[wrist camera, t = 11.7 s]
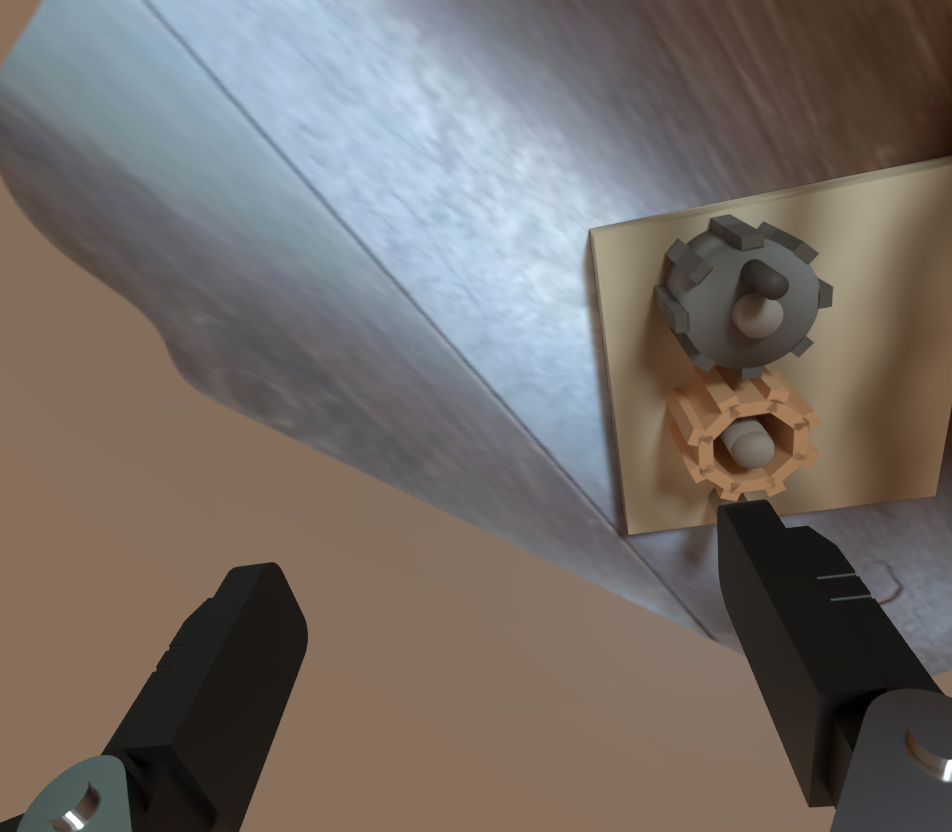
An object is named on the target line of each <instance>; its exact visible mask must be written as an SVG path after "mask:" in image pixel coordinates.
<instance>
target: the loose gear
mask: <svg viewBox="0 0 952 832" xmlns="http://www.w3.org/2000/svg"><path fill="white" fill-rule="evenodd" d="M693 368H694V370H695V372H696V374H697V375H696V376H695V377H694V379H693V380H692V381H691V382H690V383H689V384H688V385H687V386H686V387H685V388H684V389H683V390H682V391H681V390H676V389H672V391H671V393H670V396H669V398H668V401H667V404H668V406H669V408H670V410H671V412H672V414H673V416H674V418H675V420H676V422H677V423H676V424H674V425H672V426H670V427H669V430H670V432H671V434H672V436H673V438H674V440H675V442H676V445H677V447H678V449H679V451H680V453H681V455H682V458H683V460H684V462H685V464H686V466H687V468H688V470H689V472H690V474H691V475H692V477H693V479H694V480H695V482H696V483H698V482H701V481H703V480H705V479H709V480H710V481H711V482H712V484H713V486H714V488H715V489H716V491H717V493H718V495H719V497H720V498H721V499H727V500H732V501H737V500H738V498H739V496H740V494H741V492H749V491H757V490H765V491H766V493H767V494H768V496H769V497H771V496H773V495H775V494H777V493H780V492H782V491H784V490H786V488H785V486H784V484H783V482H782V481H783V480H785V479H786V478H787V477H788V476H789V475H790V474H791V473H792V472H794V471H795V470H796V469H797V468H798V467H799V466H805V467H810V468H811V467H812V465H813V464H814V462H815V460H816V458H817V456H818V454H819V452H818V451H817V449H816V448H815V447H814V446H813V445H812V444H811V442H810V441H809V430H811V429H813V428H815V427H817V426H819V425H821V423H820V421H819V419H818V417H817V415H816V413H815V411H814V410H813V409H812V408H811V406H810V405H809V404H808V403H807V402H806V401H805V400H804V399H803V398H802V397H801V396H800V395H799V394H798V393H797V392H796V391H795V390H794V389H793V388H792V387H791V385H790V384H789V383H788V382H787V381H786V380H785V379H784V378H783V377H782V376H781V375H780V374H779V373H778V372H776V373H774V374H772V373H771V372H770V371H769V370H768V369H767V368H766V367H765V366H763V376H762V377H756V378H750V379H744V380H742V379H741V377H740V376H739V375H738V374H737V373H736V371H735V370H734V369H731V368H726V367H722V366H713V367H712V368H711V369H710V370H709V371H708V372H705V371H704V370H702V369H701V368H699V367H698V366H696V365H695V366H693ZM758 414H759V415H758ZM752 415H758V416H757V417H756V419H757V420H758V421H759V423H760V424H761V425H762V427H763V428H764V429H765V431H766V432H767V433H768V435H769V436H770V437H771V439H772V440H773V443H774V447H775V451H774V455H773V458H772V459H771V461H770V462H769V463H768V464H767V465H765V466H763V467H761V468H757V469H749V468H745V467H742V466H741V465H739V464H738V463H737V462H736V461H735V460H734V459H733V457H732V456H731V454H730V452H729V451H728V449H727V447H726V446H725V444H724V443H723V441H722V439H721V438H720V436H718V435H719V434H720V433H721V432H722V431H723V430H724V429H726V428H727V427H728V426H729V425H730V424H731V423H732V422H733V421H734V420H735V419H736V418H739V417H745V416H752Z"/></svg>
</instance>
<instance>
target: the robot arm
mask: <svg viewBox="0 0 952 832" xmlns="http://www.w3.org/2000/svg"><path fill="white" fill-rule="evenodd" d="M717 534H718V568H719V580H720V586H721V591H722V595H723V599H724V602H725V605H726V608H727V611H728V613H729V616H730V618H731V621H732V623H733V626H734V628H735V630H736V633H737V635H738V638H739V640H740V642H741V645H742V647H743V650H744V652H745V655H746V657H747V659H748V662H749V664H750V667H751V669H752V671H753V674H754V676H755V679H756V681H757V683H758V686H759V688H760V691H761V693H762V695H763V698H764V700H765V703H766V705H767V707H768V710H769V712H770V715H771V717H772V720H773V722H774V724H775V727H776V729H777V732H778V734H779V737H780V739H781V741H782V744H783V746H784V749H785V751H786V754H787V756H788V758H789V761H790V763H791V766H792V768H793V770H794V773H795V775H796V778H797V780H798V782H799V785H800V787H801V790H802V792H803V795H804V797H805V799H806V802H807V804H808V806H809V807H824V806H825V807H826V806H834V807H835V809H836V812H835V816H834V819H833V822H832V826H831V829H830V832H952V698H951V697H949V696H946V695H945V694H944V693H943V692H942V691H941V690H940V688H939V687H938V686H937V685H936V683H935V682H934V681H933V679H932V678H931V676H930V675H929V674H928V672H927V671H926V669H925V668H924V667H923V665H922V664H921V663H920V661H919V660H918V658H917V657H916V656H915V654H914V653H913V651H912V650H911V649H910V647H909V646H908V644H907V643H906V642H905V640H904V639H903V637H902V636H901V635H900V633H899V632H898V630H897V629H896V628H895V626H894V625H893V623H892V622H891V621H890V619H889V618H888V616H887V615H886V614H885V612H884V611H883V609H882V608H881V607H880V605H879V604H878V603H877V601H876V600H875V598H874V599H872V597H871V593H870V591H869V590H868V589H867V587H866V586H865V584H864V583H863V582H862V580H861V579H860V577H859V576H858V577H857V576H856V574H855V570H854V569H853V568H852V566H851V565H850V563H849V562H848V561H847V559H846V558H845V556H844V555H843V554H842V552H841V551H840V549H839V548H838V547H837V545H835V544H834V543H832V542H831V541H829V540H828V539H826V538H825V537H823V536H822V535H820V534H819V533H817V532H816V531H815V530H813V529H812V528H810V527H809V526H801V527H793V528H785V526H784V524H783V523H782V521H781V520H780V518H779V517H778V515H777V513H776V512H775V510H774V509H773V507H772V505H771V504H770V503H769V502H768V501H767V500H766V499H762V500H754V501H746V502H739V503H731V504H723V505H719V506H718V509H717ZM307 643H308V631H307V624H306V621H305V618H304V616H303V614H302V611H301V609H300V607H299V605H298V603H297V601H296V599H295V597H294V595H293V593H292V591H291V588H290V587H289V584H288V582H287V580H286V578H285V576H284V574H283V572H282V570H281V568H280V567H279V566H278V565H277V564H276V563H274V562H270V563H262V564H254V565H247V566H240V567H235V568H233V569H231V570H230V571H229V572H228V574H227V576H226V577H225V579H224V580H223V582H222V584H221V585H220V587H219V589H218V590H217V592H216V594H215V595H214V597H213V598H208V599H207V600H206V601H205V602H204V603H203V604H202V605H201V606H200V607H199V608H198V609H197V610H195V612H193V613H192V614H191V615H190V616H189V618H187V619H186V620H185V621H184V623H183V625H182V626H181V628H180V629H179V631H178V632H177V634H176V636H175V637H174V639H173V641H172V642H171V644H170V645H169V647H170V649H169V651H166V652H165V653H164V655H163V656H162V658H161V660H160V661H159V663H158V664H157V666H156V668H157V670H156V672H153V673H152V674H151V676H150V677H149V679H148V680H147V682H146V684H145V685H144V687H143V688H142V690H141V692H140V693H139V695H138V697H137V698H136V700H135V701H134V703H133V705H132V706H131V708H130V709H129V711H128V713H127V714H126V716H125V717H124V719H123V720H122V722H121V724H120V725H119V727H118V728H117V730H116V732H115V733H114V735H113V737H112V738H111V740H110V742H109V743H108V744H107V746H106V748H105V749H104V751H103V752H102V754H101V755H100V756H96V757H92V758H89V759H87V760H84V761H82V762H79V763H78V764H76V765H74V766H72V767H70V768H69V769H68V770H66V771H64V772H63V773H62V774H60V775H59V776H58V777H57V778H55V779H54V780H53V781H52V782H51V783H50V784H49V785H47V787H45V788H44V789H43V790H42V792H41V793H40V794H39V795H38V796H37V797H36V798H35V800H34V801H33V802H32V803H31V805H30V806H29V808H28V809H27V811H26V812H25V813H24V814H21V815H19V816H16V817H13V818H11V819H9V820H6V821H3V822H1V823H0V832H239V830H240V827H241V825H242V822H243V820H244V817H245V814H246V812H247V809H248V806H249V804H250V801H251V798H252V796H253V793H254V790H255V787H256V785H257V782H258V779H259V777H260V774H261V771H262V769H263V766H264V763H265V761H266V758H267V755H268V752H269V750H270V747H271V744H272V742H273V739H274V736H275V734H276V731H277V728H278V726H279V723H280V720H281V718H282V715H283V712H284V710H285V707H286V704H287V701H288V699H289V696H290V694H291V691H292V688H293V685H294V683H295V680H296V677H297V675H298V672H299V669H300V667H301V664H302V661H303V659H304V656H305V653H306V649H307Z"/></svg>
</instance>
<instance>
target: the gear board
mask: <svg viewBox="0 0 952 832" xmlns="http://www.w3.org/2000/svg"><path fill="white" fill-rule="evenodd" d="M589 231H590V239H591V247H592V256H593V264H594V272H595V281H596V289H597V297H598V306H599V314H600V322H601V331H602V339H603V347H604V356H605V364H606V372H607V381H608V389H609V397H610V405H611V414H612V422H613V430H614V439H615V447H616V455H617V464H618V472H619V480H620V489H621V497H622V505H623V514H624V518H625V522H626V526H627V530H628V534H629V535H630V534H638V533H646V532H654V531H662V530H670V529H678V528H686V527H694V526H702V525H710V524H717V509H718V506H719V505H723V504H731V503H739V502H746V501H754V500H762V499H766V500H767V501H768V502H769V503H770V504H771V505H772V507H773V509H774V510H775V512H776V513H777V515H778V516H781V515H789V514H797V513H805V512H813V511H821V510H829V509H836V508H844V507H852V506H860V505H868V504H876V503H884V502H892V501H900V500H908V499H916V498H924V497H932V496H936V490H937V485H938V479H939V474H940V468H941V463H942V457H943V451H944V446H945V440H946V435H947V429H948V424H949V418H950V413H951V407H952V155H951V156H946V157H941V158H936V159H931V160H926V161H922V162H917V163H912V164H907V165H902V166H897V167H892V168H887V169H882V170H877V171H872V172H867V173H862V174H858V175H853V176H848V177H843V178H838V179H833V180H828V181H823V182H818V183H813V184H808V185H803V186H798V187H794V188H789V189H784V190H779V191H774V192H769V193H764V194H759V195H754V196H749V197H744V198H739V199H734V200H730V201H725V202H720V203H715V204H710V205H705V206H700V207H695V208H690V209H685V210H680V211H675V212H670V213H666V214H661V215H656V216H651V217H646V218H641V219H636V220H631V221H626V222H621V223H616V224H611V225H606V226H602V227H597V228H592V229H589ZM695 365H696V366H698V367H699V368H701V369H702V370H704V371H705V372H708V371H709V370H710V369H711V368H712V367H713V366H722V367H726V368H731V369H734V370H735V371H736V373H737V374H738V375H739V376H740V377H741V379H742V380H744V379H750V378H756V377H762V376H763V366H765V367H766V368H767V369H768V370H769V371H770V372H771V373H772V374H774V373H776V372H778V373H779V374H780V375H781V376H782V377H783V378H784V379H785V380H786V381H787V382H788V383H789V384H790V385H791V387H792V388H793V389H794V390H795V391H796V392H797V393H798V394H799V395H800V396H801V397H802V398H803V399H804V400H805V401H806V402H807V403H808V404H809V405H810V406H811V408H812V409H813V410H814V411H815V413H816V415H817V417H818V419H819V421H820V423H821V425H819V426H817V427H815V428H813V429H811V430H809V441H810V442H811V444H812V445H813V446H814V447H815V448H816V449H817V451H818V452H819V454H818V456H817V458H816V460H815V462H814V464H813V465H812V467H811V468H810V467H805V466H799V467H798V468H797V469H796V470H795V471H794V472H792V473H791V474H790V475H789V476H788V477H787V478H786V479H785V480H783V481H782V482H783V484H784V486H785V488H786V490H784V491H782V492H780V493H777V494H775V495H773V496H771V497H769V496H768V494H767V493H766V491H765V490H757V491H749V492H741V494H740V496H739V498H738V500H737V501H732V500H727V499H721V498H720V497H719V495H718V493H717V491H716V489H715V488H714V486H713V484H712V482H711V481H710V480H709V479H705V480H703V481H701V482H698V483H696V482H695V480H694V479H693V477H692V475H691V474H690V472H689V470H688V468H687V466H686V464H685V462H684V460H683V458H682V455H681V453H680V451H679V449H678V447H677V445H676V442H675V440H674V438H673V436H672V434H671V432H670V430H669V427H670V426H672V425H674V424H676V423H677V422H676V420H675V418H674V416H673V414H672V412H671V410H670V408H669V406H668V404H667V401H668V398H669V396H670V393H671V391H672V389H676V390H681V391H682V390H683V389H684V388H685V387H686V386H687V385H688V384H689V383H690V382H691V381H692V380H693V379H694V377H695V376H696V375H697V374H696V372H695V370H694V368H693V366H695ZM758 415H759V414H758ZM758 415H752V416H745V417H739V418H736V419H735V420H734V421H733V422H732V423H731V424H730V425H729V426H728V427H727V428H726V429H724V430H723V431H722V432H721V433H720V434H719V435H718V436H720V438H721V439H722V441H723V443H724V444H725V446H726V447H727V449H728V451H729V452H730V454H731V456H732V457H733V459H734V460H735V461H736V462H737V463H738V464H739V465H741V466H742V467H745V468H749V469H757V468H761V467H763V466H765V465H767V464H768V463H769V462H770V461H771V459H772V458H773V455H774V451H775V447H774V443H773V440H772V439H771V437H770V436H769V435H768V433H767V432H766V431H765V429H764V428H763V427H762V425H761V424H760V423H759V421H758V420H757V419H756V417H757V416H758Z"/></svg>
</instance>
